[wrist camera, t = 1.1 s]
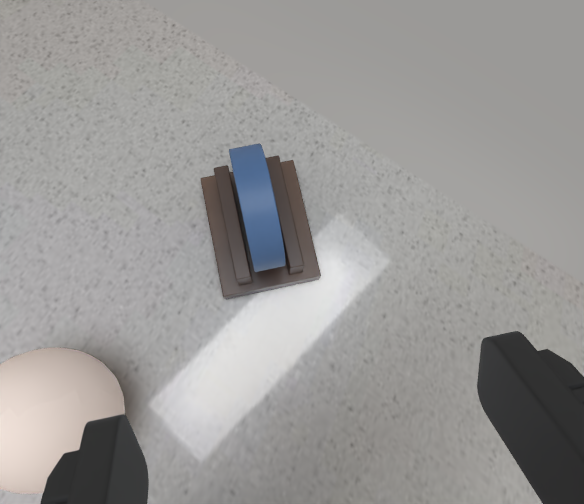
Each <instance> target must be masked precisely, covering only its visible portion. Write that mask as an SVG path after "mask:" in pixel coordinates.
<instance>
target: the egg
mask: <svg viewBox="0 0 584 504" xmlns="http://www.w3.org/2000/svg"><path fill="white" fill-rule="evenodd" d="M122 414H124V415H125V406H124V395H123V393H122V390H121V388H120V385H119V382H118V380H117V379H116V377H115V375H114V374H113V373H112V372H111V371H110V370H109V369H108V368H107V367H106V366H105V365H104V364H103V363H102V362H101V361H100V360H98V359H96V358H94V357H93V356H91V355H89V354H87V353H84V352H81V351H78V350H75V349H67V348H43V349H36V350H32V351H29V352H26V353H23V354H20V355H17V356H14V357H12V358H10V359H8V360H7V361H5V362H3V363H1V364H0V489H2V490H5V491H9V492H13V493H18V494H37V493H44V489H45V485H46V482H47V478H48V476H49V475H50V473H51V472H52V470H53V469H54V467H55V466H56V464H57V463H58V461H59V460H60V458H61V457H62V455H63V454H64V453H68V452H72V451H77V450H79V448H80V444H81V439H82V435H83V431H84V427H85V425H86V423H87V422H89V421H94V420H98V419H103V418H108V417H112V416H117V415H122Z"/></svg>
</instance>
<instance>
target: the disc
mask: <svg viewBox="0 0 584 504" xmlns="http://www.w3.org/2000/svg"><path fill="white" fill-rule="evenodd" d="M229 153H230V158H231V163H232V168H233V173H234V178H235V183H236V187H237V192H238V197H239V202H240V206H241V211H242V216H243V221H244V225H245V230H246V235H247V239H248V244H249V249H250V253H251V258H252V262H253V267H254V271H255V272H259V271H263V270H268V269H273V268H278V267H282V266H285V252H284V245H283V239H282V233H281V227H280V222H279V217H278V211H277V206H276V202H275V197H274V192H273V188H272V183H271V179H270V175H269V170H268V166H267V163H266V159H265V155H264V152H263V149H262V146H261V144H254V145H249V146H244V147H239V148H234V149H229Z"/></svg>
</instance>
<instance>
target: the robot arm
mask: <svg viewBox="0 0 584 504" xmlns="http://www.w3.org/2000/svg"><path fill="white" fill-rule="evenodd" d="M477 388H478V395H479V399H480V402H481V405H482V407H483V409H484V411H485V413H486V415H487V416H488V418H489V419H490V421H491V422H492V424H493V426H494V427H495V429H496V430H497V432H498V434H499V435H500V437H501V438H502V440H503V441H504V443H505V445H506V446H507V448H508V449H509V451H510V453H511V454H512V456H513V457H514V459H515V460H516V462H517V464H518V465H519V467H520V468H521V470H522V471H523V473H524V475H525V476H526V478H527V479H528V481H529V483H530V484H531V486H532V487H533V489H534V490H535V492H536V494H537V495H538V497H539V498H540V500H541V501H542V503H543V504H584V377H583V376H582V375H581V374H580V373H579V371H578V370H577V369H576V368H575V367H574V366H573V365H572V364H571V363H570V362H568V361H566V360H565V359H563V358H561V357H560V356H558V355H556V354H555V353H553V352H552V351H550V350H548V349H545V350H541V351H537V350H536V349H535V348H534V346H533V345H532V344H531V343H530V342H529V341H528V340H527V338H526V337H525V336H524V335H523V334H522V333H520V332H518V331H515V332H510V333H505V334H501V335H496V336H491V337H487V338H484V339H483V340H482V344H481V353H480V363H479V373H478V383H477ZM147 499H148V470H147V465H146V461H145V457H144V455H143V453H142V450H141V448H140V446H139V444H138V441H137V439H136V437H135V434H134V432H133V430H132V427H131V425H130V423H129V421H128V419H127V417H126V416H125V415H124V414H122V415H117V416H112V417H108V418H103V419H98V420H94V421H89V422H87V423H86V425H85V427H84V431H83V435H82V439H81V444H80V448H79V450H77V451H72V452H68V453H64V454H63V455H62V457H61V458H60V460H59V461H58V463H57V464H56V466H55V467H54V469H53V470H52V472H51V473H50V475H49V476H48V478H47V482H46V485H45V489H44V493H43V496H42V500H41V504H147Z"/></svg>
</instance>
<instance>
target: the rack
mask: <svg viewBox="0 0 584 504" xmlns="http://www.w3.org/2000/svg"><path fill="white" fill-rule="evenodd" d="M265 159H266V163H267V166H268V170H269V175H270V179H271V183H272V188H273V192H274V197H275V202H276V206H277V211H278V217H279V222H280V227H281V233H282V239H283V245H284V252H285V266H282V267H278V268H273V269H268V270H263V271H259V272H255V271H254V267H253V262H252V258H251V253H250V249H249V244H248V239H247V235H246V230H245V225H244V221H243V216H242V211H241V206H240V202H239V197H238V192H237V187H236V183H235V178H234V173H233V172H229V168H228V166H222V167H217V168H214V172H215V175H214V176H209V177H204V178H201V183H202V189H203V194H204V199H205V204H206V209H207V214H208V219H209V225H210V230H211V235H212V240H213V245H214V250H215V256H216V261H217V266H218V271H219V276H220V281H221V286H222V292H223V296H224V298H225V299H230V298H235V297H239V296H244V295H249V294H253V293H258V292H262V291H267V290H272V289H276V288H281V287H286V286H290V285H295V284H299V283H304V282H309V281H313V280H318V279H319V278H320V276H321V274H320V270H319V266H318V262H317V258H316V253H315V249H314V245H313V241H312V237H311V233H310V228H309V224H308V220H307V216H306V212H305V207H304V203H303V199H302V195H301V191H300V187H299V182H298V178H297V174H296V170H295V166H294V161H293V160H290V161H285V162H280V158H279V156H274V157H269V158H265Z"/></svg>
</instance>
